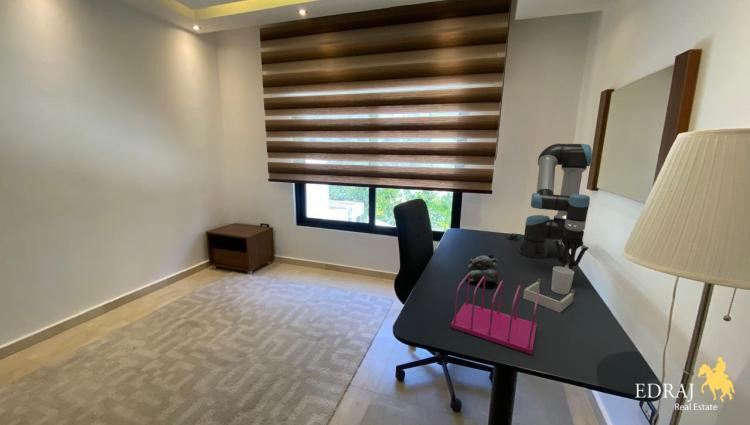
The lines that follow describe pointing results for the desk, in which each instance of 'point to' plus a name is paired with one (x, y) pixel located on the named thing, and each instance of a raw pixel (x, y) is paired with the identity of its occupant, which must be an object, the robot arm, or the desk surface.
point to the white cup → (562, 280)
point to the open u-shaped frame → (547, 298)
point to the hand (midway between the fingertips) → (565, 278)
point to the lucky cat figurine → (483, 269)
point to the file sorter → (495, 321)
